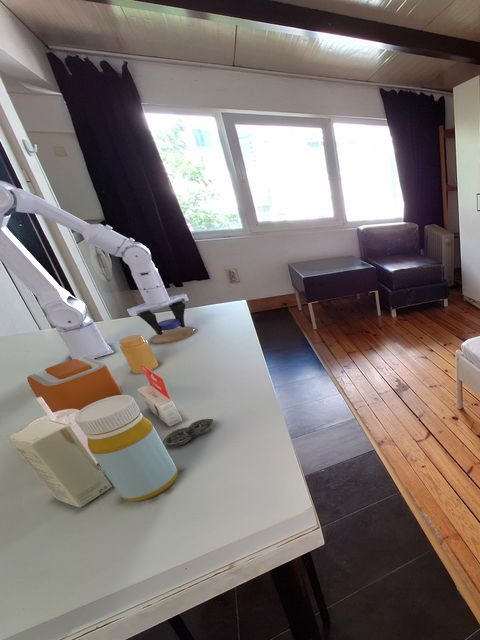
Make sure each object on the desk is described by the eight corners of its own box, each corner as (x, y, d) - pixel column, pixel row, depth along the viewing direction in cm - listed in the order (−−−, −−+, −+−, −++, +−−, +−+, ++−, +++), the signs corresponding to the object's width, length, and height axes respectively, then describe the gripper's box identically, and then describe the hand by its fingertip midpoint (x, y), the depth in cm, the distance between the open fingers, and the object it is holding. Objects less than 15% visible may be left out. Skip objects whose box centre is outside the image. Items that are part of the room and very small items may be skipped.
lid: (163, 332, 106) (161, 327, 105) (154, 329, 109) (152, 324, 108) (185, 324, 110) (182, 320, 110) (175, 322, 113) (173, 317, 112)
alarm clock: (142, 420, 72) (109, 361, 66) (88, 447, 66) (45, 384, 59) (109, 402, 79) (76, 346, 73) (56, 425, 72) (14, 366, 66)
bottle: (144, 471, 60) (98, 395, 53) (188, 467, 60) (148, 391, 53) (111, 506, 54) (54, 425, 47) (160, 501, 54) (111, 420, 47)
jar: (130, 369, 92) (114, 340, 88) (154, 361, 96) (140, 332, 92) (136, 375, 89) (120, 344, 85) (161, 366, 93) (147, 336, 89)
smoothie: (77, 483, 58) (25, 412, 52) (47, 478, 59) (-8, 408, 53) (119, 454, 64) (76, 387, 57) (90, 451, 65) (45, 384, 58)
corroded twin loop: (219, 429, 69) (217, 424, 68) (169, 452, 63) (166, 448, 63) (210, 419, 72) (208, 414, 71) (161, 441, 66) (159, 436, 66)
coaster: (146, 337, 110) (145, 336, 110) (188, 325, 118) (187, 324, 118) (156, 346, 104) (156, 345, 104) (200, 333, 111) (199, 332, 111)
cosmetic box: (114, 487, 57) (72, 424, 51) (80, 509, 53) (31, 445, 48) (88, 478, 59) (45, 417, 53) (54, 499, 55) (4, 436, 50)
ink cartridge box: (169, 427, 70) (147, 384, 65) (148, 409, 76) (126, 369, 71) (184, 420, 72) (163, 378, 67) (162, 403, 77) (141, 363, 73)
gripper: (127, 296, 96) (149, 342, 103) (186, 281, 108) (203, 323, 114) (115, 293, 100) (138, 337, 106) (173, 279, 111) (191, 320, 117)
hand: (171, 330), depth 110 cm, fingers closed on lid, 5 cm apart
